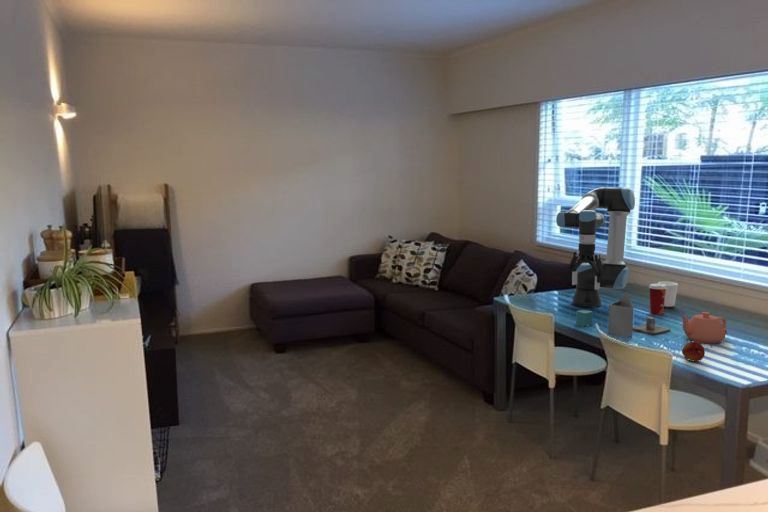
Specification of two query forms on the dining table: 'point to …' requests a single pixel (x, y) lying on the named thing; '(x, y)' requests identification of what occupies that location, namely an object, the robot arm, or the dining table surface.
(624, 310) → the planter
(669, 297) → the cup
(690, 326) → the teapot
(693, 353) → the fruit
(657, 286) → the coffee cup
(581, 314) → the cap
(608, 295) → the dining table surface
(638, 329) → the post block
